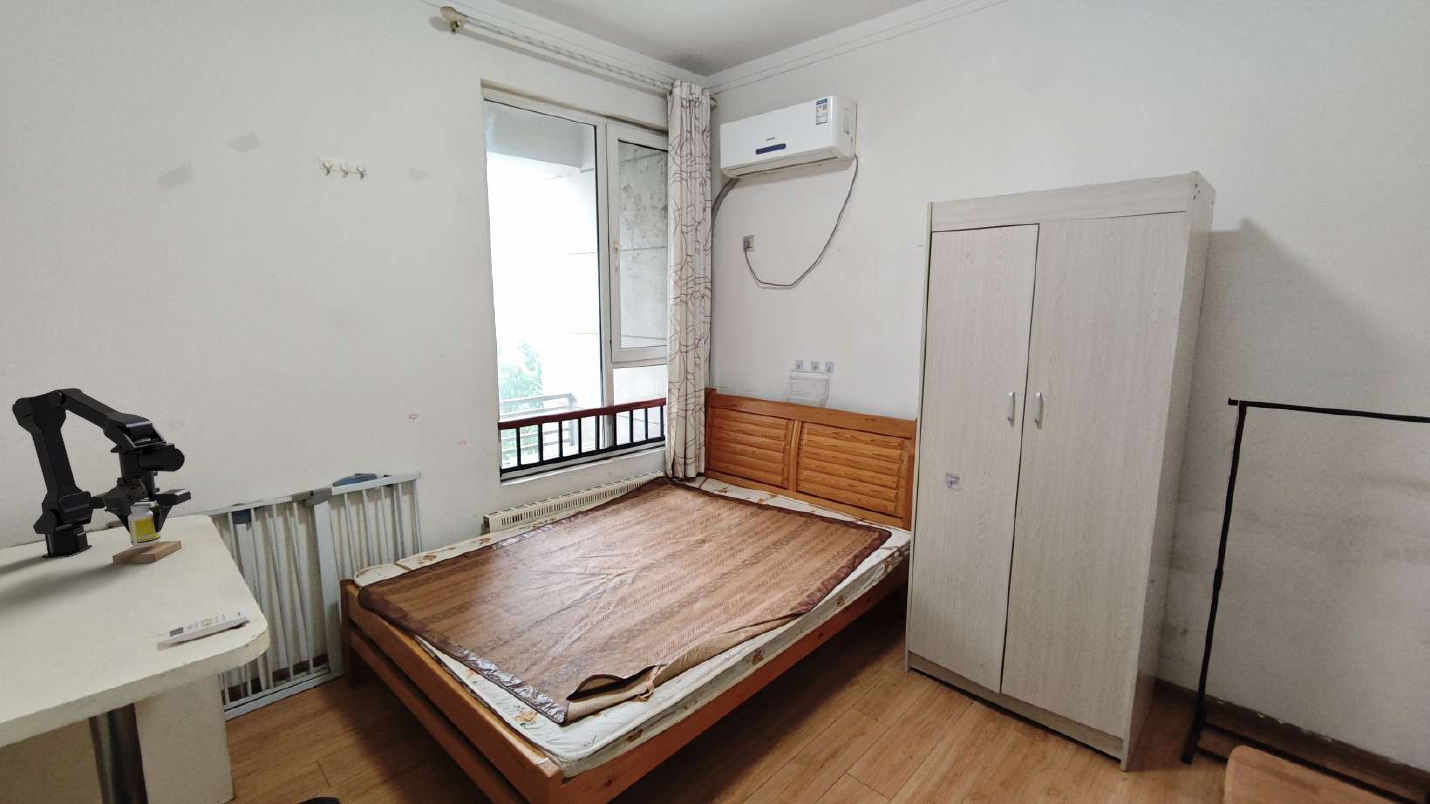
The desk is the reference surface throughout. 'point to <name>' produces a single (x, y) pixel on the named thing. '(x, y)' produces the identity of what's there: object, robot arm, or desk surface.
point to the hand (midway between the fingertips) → (145, 532)
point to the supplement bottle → (142, 525)
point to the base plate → (147, 552)
